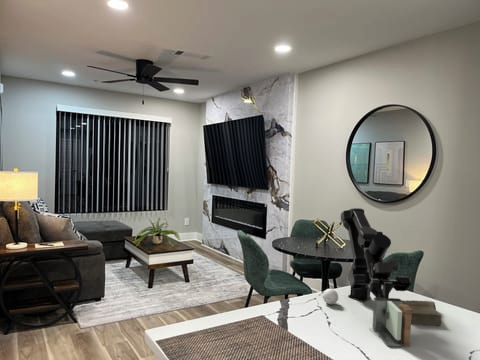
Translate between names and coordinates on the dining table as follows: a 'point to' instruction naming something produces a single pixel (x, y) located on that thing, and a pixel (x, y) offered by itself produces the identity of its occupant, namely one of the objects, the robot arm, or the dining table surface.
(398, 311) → the pale green slab
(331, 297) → the seamed sphere
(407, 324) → the post
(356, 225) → the robot arm
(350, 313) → the dining table surface
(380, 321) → the gray bookend
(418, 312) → the marble piece
